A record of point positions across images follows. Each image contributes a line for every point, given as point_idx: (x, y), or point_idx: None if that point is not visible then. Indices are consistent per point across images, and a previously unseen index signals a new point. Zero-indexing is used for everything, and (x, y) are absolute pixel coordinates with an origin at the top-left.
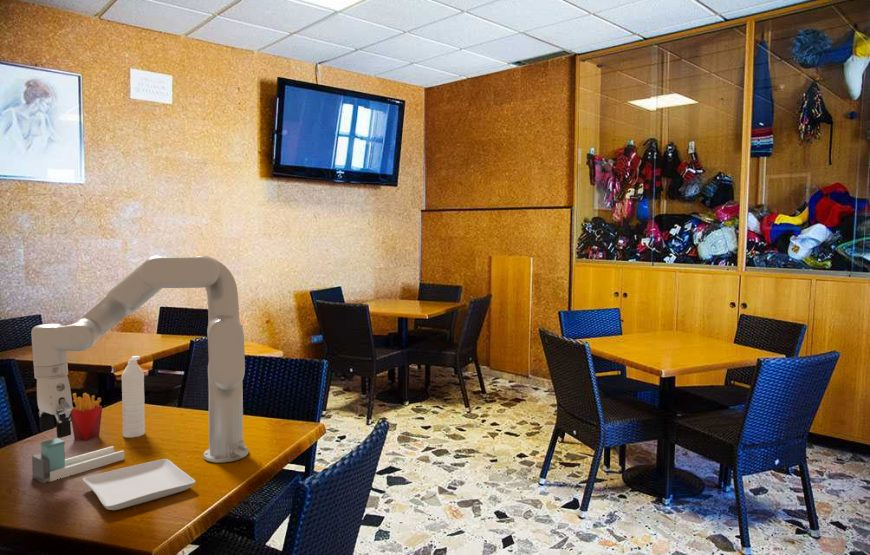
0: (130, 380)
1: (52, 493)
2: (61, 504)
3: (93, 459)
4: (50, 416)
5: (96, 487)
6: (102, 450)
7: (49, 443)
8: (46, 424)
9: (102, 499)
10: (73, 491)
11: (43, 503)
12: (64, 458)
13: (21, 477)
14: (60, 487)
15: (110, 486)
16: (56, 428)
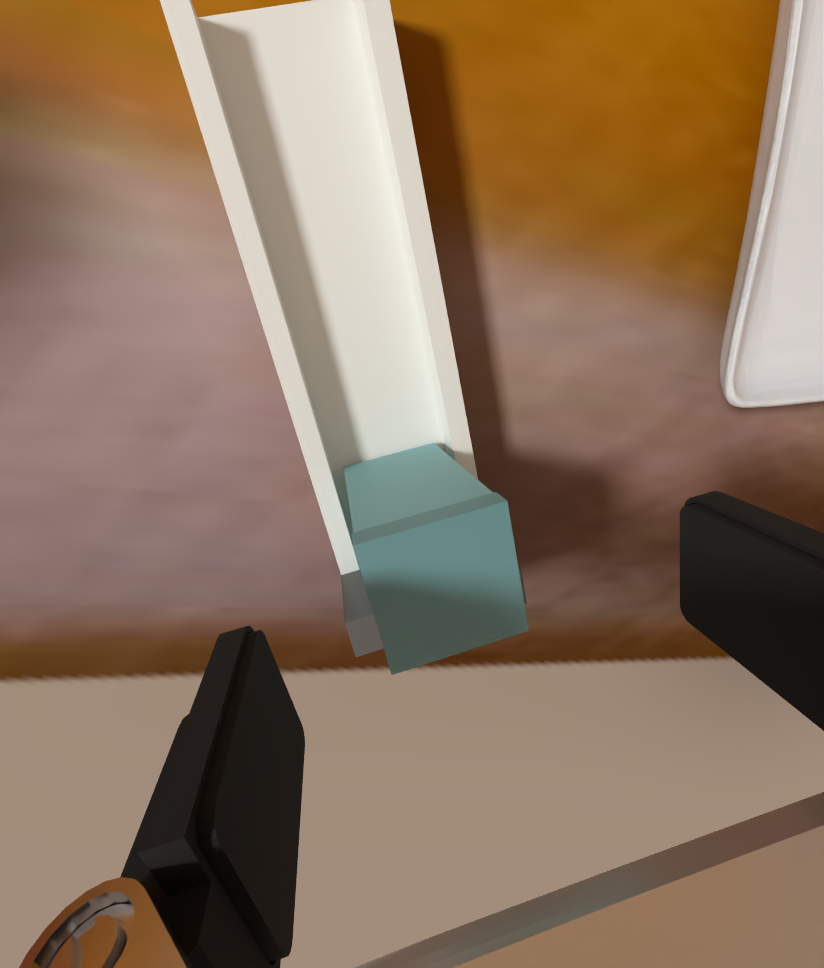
0: None
1: (621, 517)
2: (756, 499)
3: (431, 259)
4: (234, 840)
5: (776, 351)
6: (226, 120)
7: (480, 616)
8: (282, 762)
9: None
10: (668, 438)
11: None
12: (455, 462)
13: (308, 620)
14: (578, 480)
15: (798, 284)
16: (796, 698)
